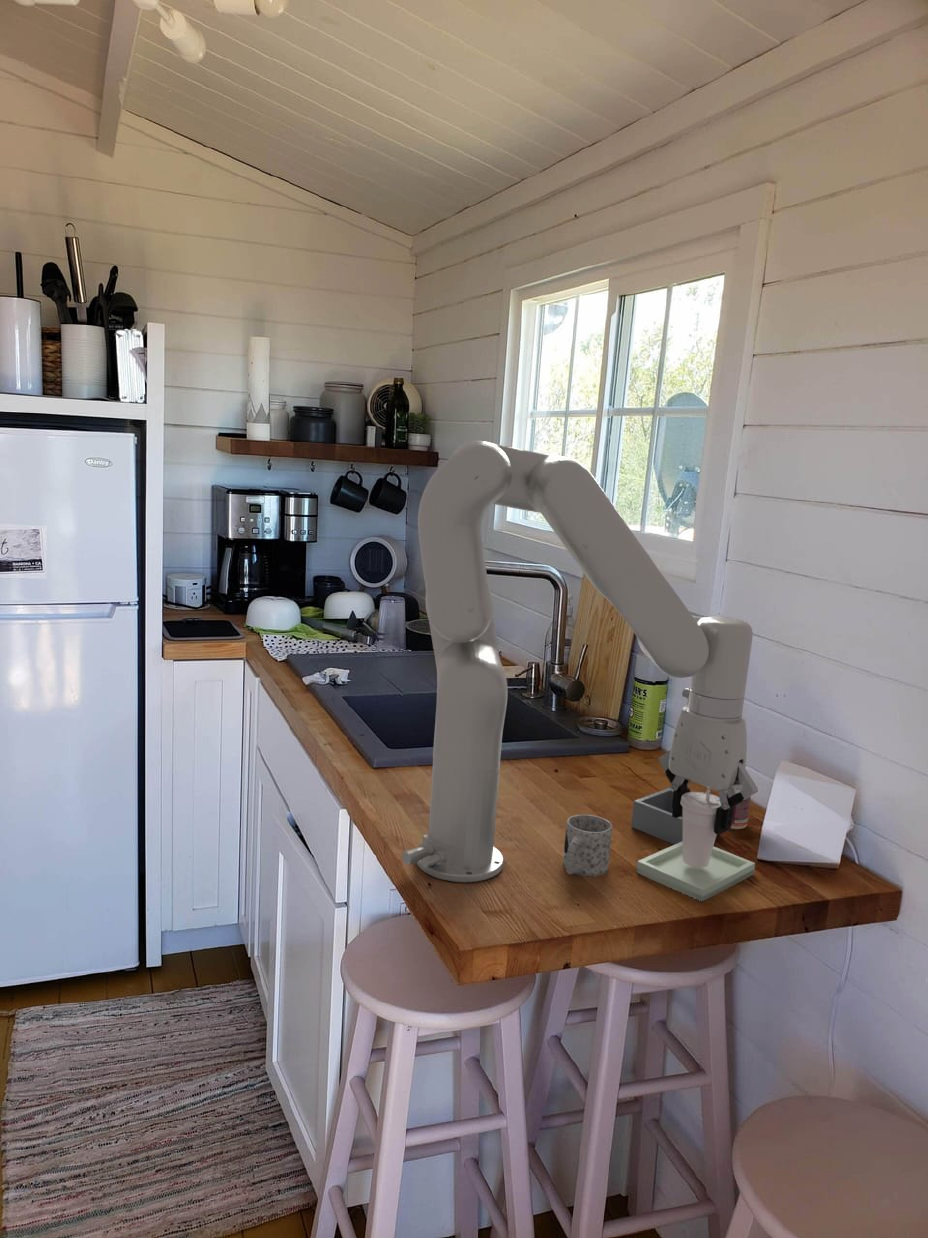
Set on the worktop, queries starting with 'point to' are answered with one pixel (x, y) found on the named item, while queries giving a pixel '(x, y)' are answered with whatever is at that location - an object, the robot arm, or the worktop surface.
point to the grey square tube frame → (658, 817)
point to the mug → (587, 845)
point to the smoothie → (698, 827)
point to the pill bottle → (740, 812)
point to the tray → (695, 871)
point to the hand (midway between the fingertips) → (700, 822)
